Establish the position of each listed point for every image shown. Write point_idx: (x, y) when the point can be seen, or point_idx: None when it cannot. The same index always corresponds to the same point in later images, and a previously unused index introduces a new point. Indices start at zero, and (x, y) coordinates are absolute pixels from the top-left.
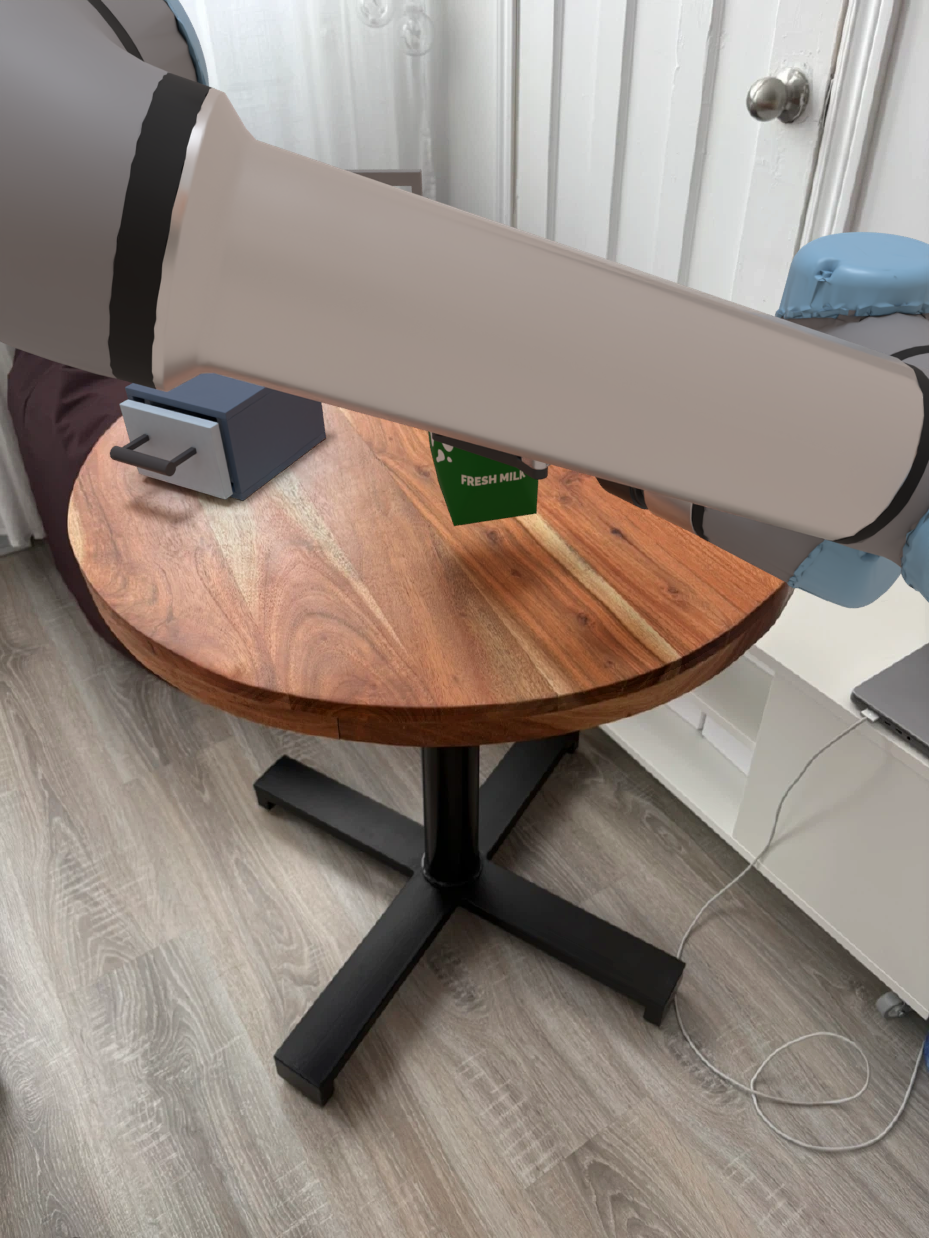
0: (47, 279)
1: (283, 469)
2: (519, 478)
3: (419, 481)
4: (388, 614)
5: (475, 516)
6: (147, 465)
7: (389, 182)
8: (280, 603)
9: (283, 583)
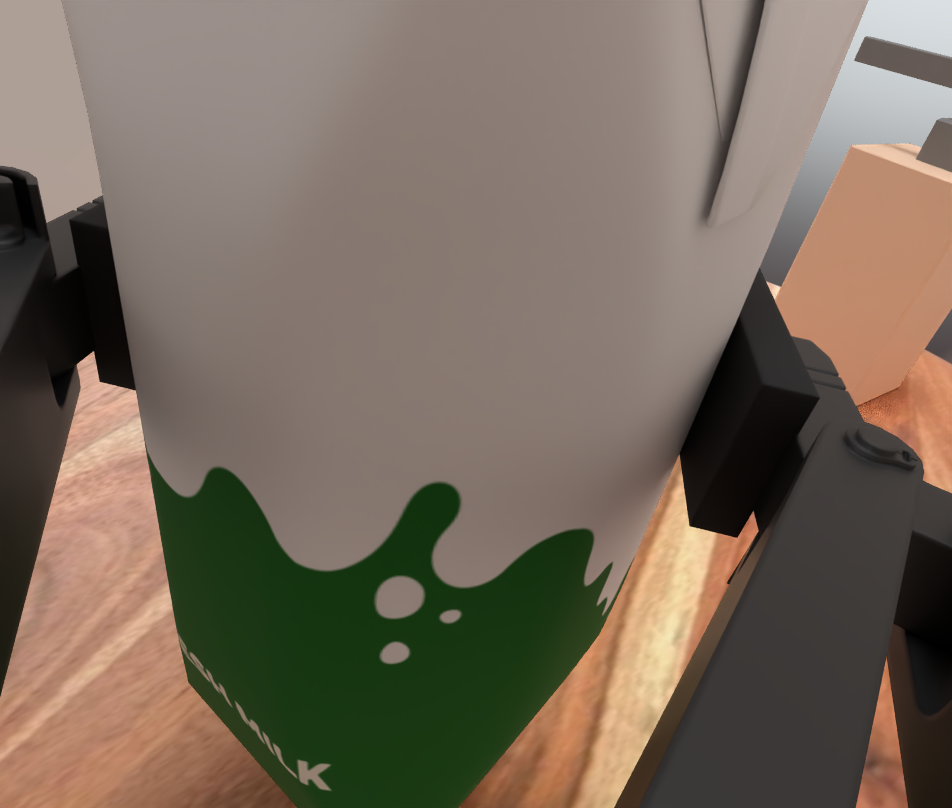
0: None
1: None
2: (296, 778)
3: None
4: (83, 699)
5: (223, 718)
6: None
7: (933, 75)
8: (66, 509)
9: (134, 485)
